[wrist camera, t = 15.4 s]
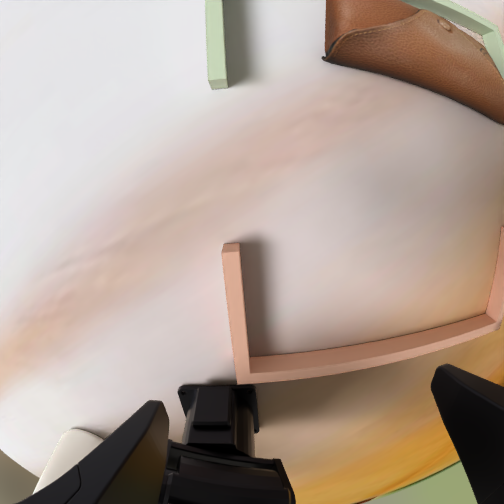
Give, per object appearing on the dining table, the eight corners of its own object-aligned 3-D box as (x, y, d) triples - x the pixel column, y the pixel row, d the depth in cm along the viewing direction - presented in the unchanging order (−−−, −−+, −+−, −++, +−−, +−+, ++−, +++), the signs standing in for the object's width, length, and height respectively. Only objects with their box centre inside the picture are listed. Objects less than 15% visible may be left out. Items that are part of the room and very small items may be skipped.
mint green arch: (505, 122, 16) (520, 121, 14) (211, 89, 16) (208, 80, 14) (485, 30, 13) (497, 26, 11) (207, -22, 13) (204, -37, 11)
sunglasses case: (490, 48, 14) (537, 69, 9) (476, 105, 19) (517, 136, 14) (317, -22, 13) (341, -35, 8) (309, 54, 18) (329, 68, 13)
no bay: (488, 320, 21) (499, 328, 19) (237, 367, 21) (237, 384, 19) (506, 226, 19) (520, 231, 17) (223, 244, 18) (221, 252, 16)
